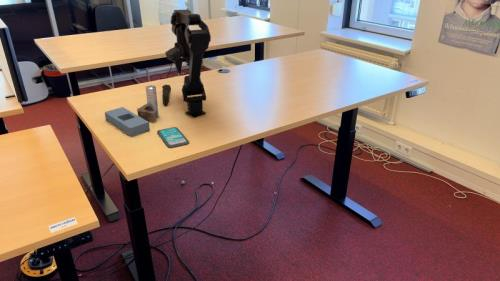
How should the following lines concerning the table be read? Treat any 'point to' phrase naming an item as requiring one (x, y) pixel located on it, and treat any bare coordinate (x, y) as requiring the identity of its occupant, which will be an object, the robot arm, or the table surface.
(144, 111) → the v block
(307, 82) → the table surface
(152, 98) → the axle
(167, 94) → the hand tool
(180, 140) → the smartphone
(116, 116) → the grey block with hole
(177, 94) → the table surface
